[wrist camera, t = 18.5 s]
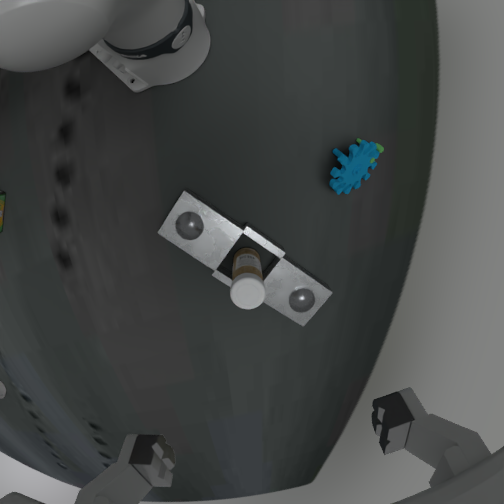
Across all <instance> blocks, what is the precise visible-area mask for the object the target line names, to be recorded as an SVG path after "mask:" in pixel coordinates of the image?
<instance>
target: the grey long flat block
mask: <svg viewBox="0 0 504 504" xmlns="http://www.w3.org/2000/svg"><path fill="white" fill-rule="evenodd" d="M242 233H244V234H245V235H247V236H248V237H250V238H251V239H253V240H254V241H256V242H257V243H259V244H260V245H261V246H263V247H264V248H266V249H267V250H269V251H270V252H272V253H273V254H275V255H276V258H275V259H274V260H273V262H272V263H271V264H270V265H269V267H268V268H267V269H266V271H265V272H264V273H263V274H262V277H263V282H264V285H265V291H266V295H265V299H264V301H263V302H264V303H266V304H268V305H269V306H271V307H272V308H274V309H276V310H277V311H279V312H280V313H282V314H284V315H285V316H287V317H289V318H290V319H292V320H293V321H295V322H297V323H298V324H300V325H302V326H304V325H305V324H306V323H307V322H308V321H309V320H310V318H311V317H312V316H313V315H314V314H315V313H316V312H317V310H318V309H319V308H320V307H321V306H322V305H323V304H324V302H325V301H326V300H327V299H328V298H329V296H330V295H331V294H332V293H333V292H332V291H331V289H330V287H329V286H328V285H327V284H325V283H324V282H323V281H321V280H320V279H318V278H317V277H316V276H314V275H313V274H311V273H310V272H308V271H307V270H306V269H304V268H303V267H301V266H300V265H298V264H297V263H296V262H294V261H293V260H291V259H290V258H288V257H287V256H286V255H285V250H284V248H283V247H282V246H280V245H279V244H278V243H276V242H275V241H273V240H272V239H270V238H269V237H268V236H266V235H265V234H263V233H262V232H260V231H259V230H258V229H256V228H255V227H253V226H252V225H250V224H249V223H246V224H245V226H242V225H241V224H239V223H238V222H236V221H235V220H233V219H232V218H230V217H229V216H228V215H226V214H225V213H223V212H222V211H220V210H219V209H217V208H216V207H214V206H213V205H211V204H210V203H208V202H207V201H205V200H204V199H203V198H201V197H200V196H198V195H197V194H195V193H194V192H192V191H191V190H189V189H186V190H184V192H183V193H182V195H181V196H180V198H179V199H178V201H177V202H176V204H175V206H174V207H173V209H172V210H171V212H170V214H169V215H168V217H167V218H166V220H165V222H164V223H163V225H162V226H161V228H160V230H159V231H158V234H160V235H161V236H163V237H164V238H166V239H167V240H169V241H170V242H172V243H173V244H175V245H176V246H178V247H179V248H181V249H182V250H184V251H185V252H187V253H188V254H190V255H191V256H193V257H194V258H196V259H197V260H199V261H200V262H202V263H203V264H205V265H206V266H208V267H210V268H211V269H213V273H212V276H214V277H215V278H217V279H218V280H220V281H222V282H223V283H225V284H226V285H228V286H229V287H231V283H232V278H233V273H232V272H230V271H229V270H227V269H226V268H224V267H223V266H221V265H220V263H221V262H222V260H223V259H224V258H225V256H226V255H227V254H228V252H229V251H230V249H231V248H232V247H233V245H234V244H235V242H236V241H237V240H238V238H239V237H240V236H241V234H242Z"/></svg>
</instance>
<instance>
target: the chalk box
mask: <svg viewBox="0 0 504 504" xmlns="http://www.w3.org/2000/svg"><path fill="white" fill-rule="evenodd" d="M5 195H6V193H5V192H2V191H0V232H2V227H3V215H4V204H5Z"/></svg>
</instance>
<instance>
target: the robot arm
mask: <svg viewBox="0 0 504 504" xmlns="http://www.w3.org/2000/svg"><path fill="white" fill-rule="evenodd" d="M209 48H210V34H209V31H208V29H207V26H206V24H205V9H204V7H203V6H202V5H200V4H196V3H195V1H194V0H0V68H2V69H5V70H8V71H14V72H37V71H43V70H47V69H50V68H54V67H57V66H60V65H62V64H65V63H67V62H69V61H71V60H73V59H75V58H77V57H78V56H80V55H82V54H83V53H85V52H86V51H88V50H89V51H90V52H91V53H93V54H94V55H95V56H96V57H97V58H98V59H99V60H100V61H101V62H102V63H103V64H104V65H106V66H107V67H108V68H109V69H110V70H111V71H112V72H113V73H114V74H115V75H116V76H117V77H118V78H119V79H121V80H122V81H123V82H124V83H125V84H126V85H127V86H128V87H129V88H130V89H131V90H132V91H133V92H141V91H143V90H146V89H148V88H150V87H151V86H156V85H166V84H171V83H175V82H178V81H180V80H182V79H184V78H186V77H188V76H189V75H191V74H192V73H193V72H195V71H196V70H197V69H198V68H199V67H200V66H201V64H202V63H203V62H204V60H205V58H206V56H207V54H208V52H209ZM133 79H135V81H134V83H131V82H132V80H133ZM372 406H373V408H374V411H373V413H372V424H373V427H374V431H375V433H376V435H378V436H380V441H379V443H380V446H381V448H382V450H383V453H384V455H386V454H389V453H392V452H395V451H398V450H400V449H403V448H405V449H406V450H407V451H409V452H410V453H412V454H413V455H415V456H416V457H418V458H419V459H421V460H423V461H424V462H426V463H428V464H429V465H431V466H432V467H434V468H435V469H436V470H435V472H434V474H433V476H432V478H431V479H430V481H429V484H430V486H431V488H429V489H427V490H424V491H422V492H420V493H418V494H415V495H413V496H410V497H408V498H405V499H403V500H400V501H397V502H395V503H392V504H504V446H503V447H502V448H501V449H499V450H498V451H496V452H495V453H493V454H491V453H490V451H489V450H488V448H487V447H486V445H485V444H484V442H483V441H482V439H481V437H480V436H479V434H478V433H477V432H474V431H472V430H469V429H467V428H465V427H462V426H459V425H457V424H455V423H452V422H450V421H448V420H445V419H443V418H441V417H438V416H436V415H434V414H429V415H428V414H427V412H426V411H425V409H424V408H423V406H422V404H421V403H420V401H419V399H418V398H417V396H416V395H415V393H414V391H413V390H412V389H411V388H410V387H409V388H406V389H403V390H400V391H398V392H394V393H391V394H389V395H386V396H383V397H380V398H377V399H374V400H373V405H372ZM174 466H175V453H174V450H173V448H172V447H171V446H170V445H168V444H166V438H165V437H164V436H163V435H144V434H128V435H127V436H126V438H125V441H124V444H123V447H122V450H121V453H120V455H119V458H118V461H117V463H113V464H112V465H111V466H110V467H108V468H107V469H106V470H105V471H104V472H102V473H101V474H100V475H99V476H97V477H96V478H95V479H94V480H92V481H91V482H90V483H89V484H87V485H86V486H85V487H84V488H82V489H81V490H80V491H79V493H78V496H77V499H76V501H75V504H138V503H139V502H140V501H141V500H142V499H143V498H144V496H145V495H146V494H147V493H148V492H149V491H150V489H151V488H152V486H158V487H171V482H172V477H173V474H172V472H171V471H170V470H171V469H172V468H173V467H174ZM0 504H45V503H42V502H39V501H37V500H34V499H32V498H30V497H27V496H25V495H23V494H20V493H17V492H12V493H10V494H7V495H6V496H4V497H3V498H1V499H0Z"/></svg>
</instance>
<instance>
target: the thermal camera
mask: <svg viewBox="0 0 504 504" xmlns="http://www.w3.org/2000/svg"><path fill="white" fill-rule="evenodd" d="M5 394H6V387H5V385H4V384H3V382H2V381H1V380H0V399H1V398H4V397H5Z"/></svg>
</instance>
